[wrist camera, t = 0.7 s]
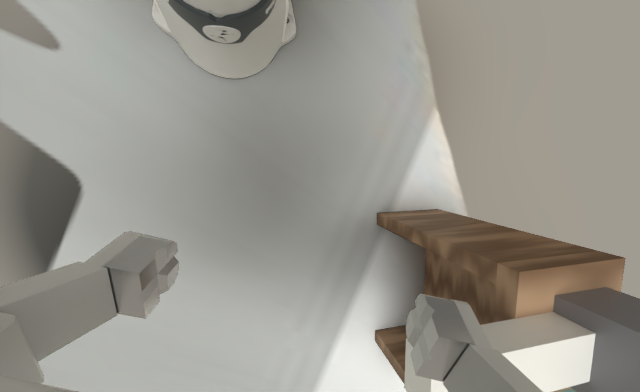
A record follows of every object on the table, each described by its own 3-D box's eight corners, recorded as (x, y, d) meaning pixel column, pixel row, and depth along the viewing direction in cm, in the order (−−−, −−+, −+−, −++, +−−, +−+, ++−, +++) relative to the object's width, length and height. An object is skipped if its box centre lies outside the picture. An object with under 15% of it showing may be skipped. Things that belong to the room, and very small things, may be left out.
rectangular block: (406, 319, 20) (470, 385, 14) (605, 286, 24) (716, 325, 18) (403, 405, 20) (462, 500, 15) (596, 357, 25) (698, 416, 19)
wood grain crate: (377, 212, 47) (519, 272, 22) (437, 209, 49) (625, 258, 24) (374, 340, 50) (497, 522, 25) (431, 330, 53) (593, 484, 27)
